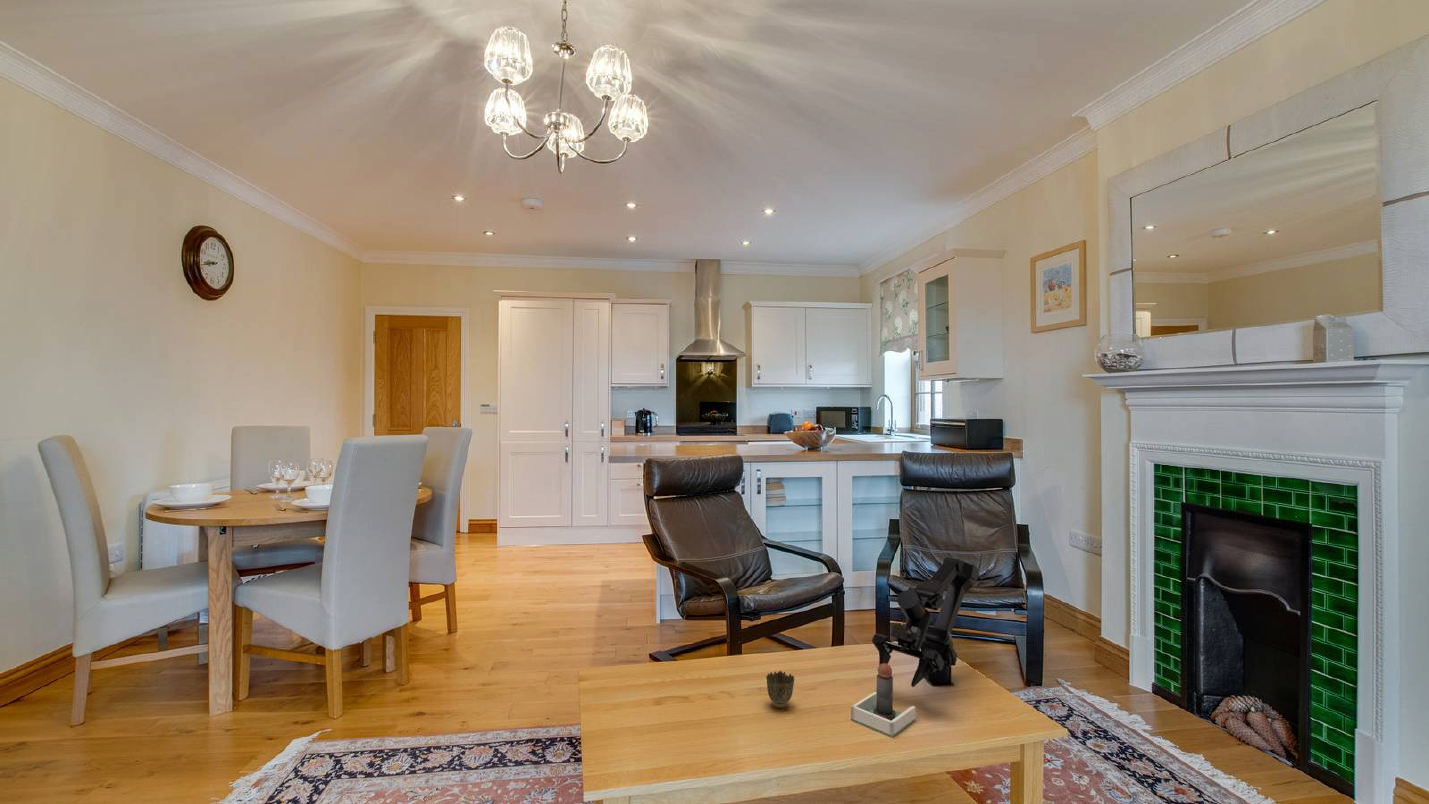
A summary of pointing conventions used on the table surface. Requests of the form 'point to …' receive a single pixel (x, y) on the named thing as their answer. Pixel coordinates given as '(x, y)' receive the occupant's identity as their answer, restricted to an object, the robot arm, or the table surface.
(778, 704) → the cup
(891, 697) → the player figure
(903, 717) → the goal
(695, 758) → the table surface
